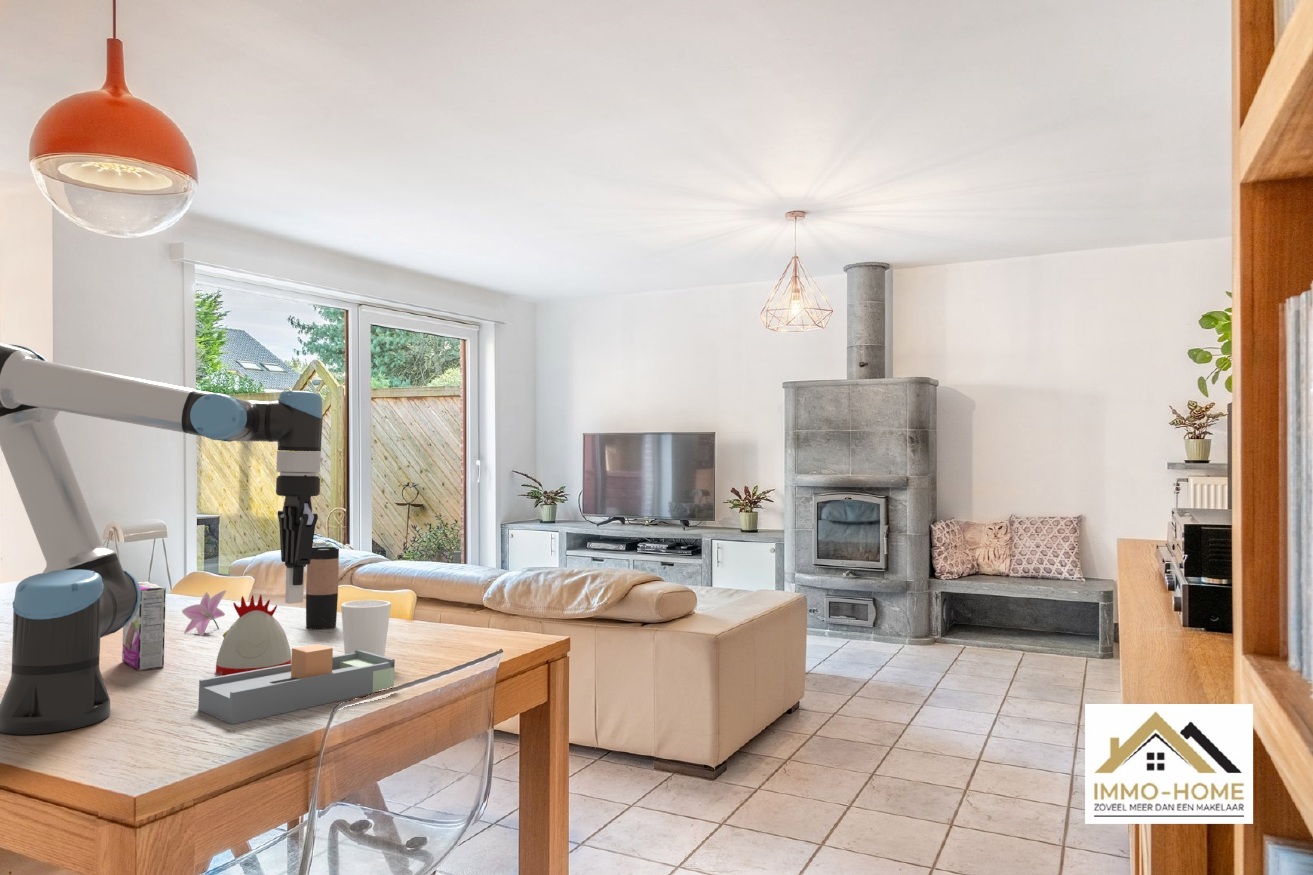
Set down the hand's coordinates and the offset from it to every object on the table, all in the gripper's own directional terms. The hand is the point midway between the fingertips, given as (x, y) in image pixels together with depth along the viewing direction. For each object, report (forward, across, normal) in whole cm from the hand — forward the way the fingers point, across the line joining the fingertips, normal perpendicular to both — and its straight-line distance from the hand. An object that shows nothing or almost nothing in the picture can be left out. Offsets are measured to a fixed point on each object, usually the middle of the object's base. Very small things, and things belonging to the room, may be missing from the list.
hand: (294, 602), depth 159 cm
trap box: (+16, -6, +1) cm, 17 cm away
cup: (+16, +11, -20) cm, 28 cm away
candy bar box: (+17, +40, +15) cm, 45 cm away
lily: (+17, +68, -5) cm, 70 cm away
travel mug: (+17, +57, -30) cm, 66 cm away
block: (+12, -7, -1) cm, 14 cm away
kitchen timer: (+17, +22, -1) cm, 28 cm away
